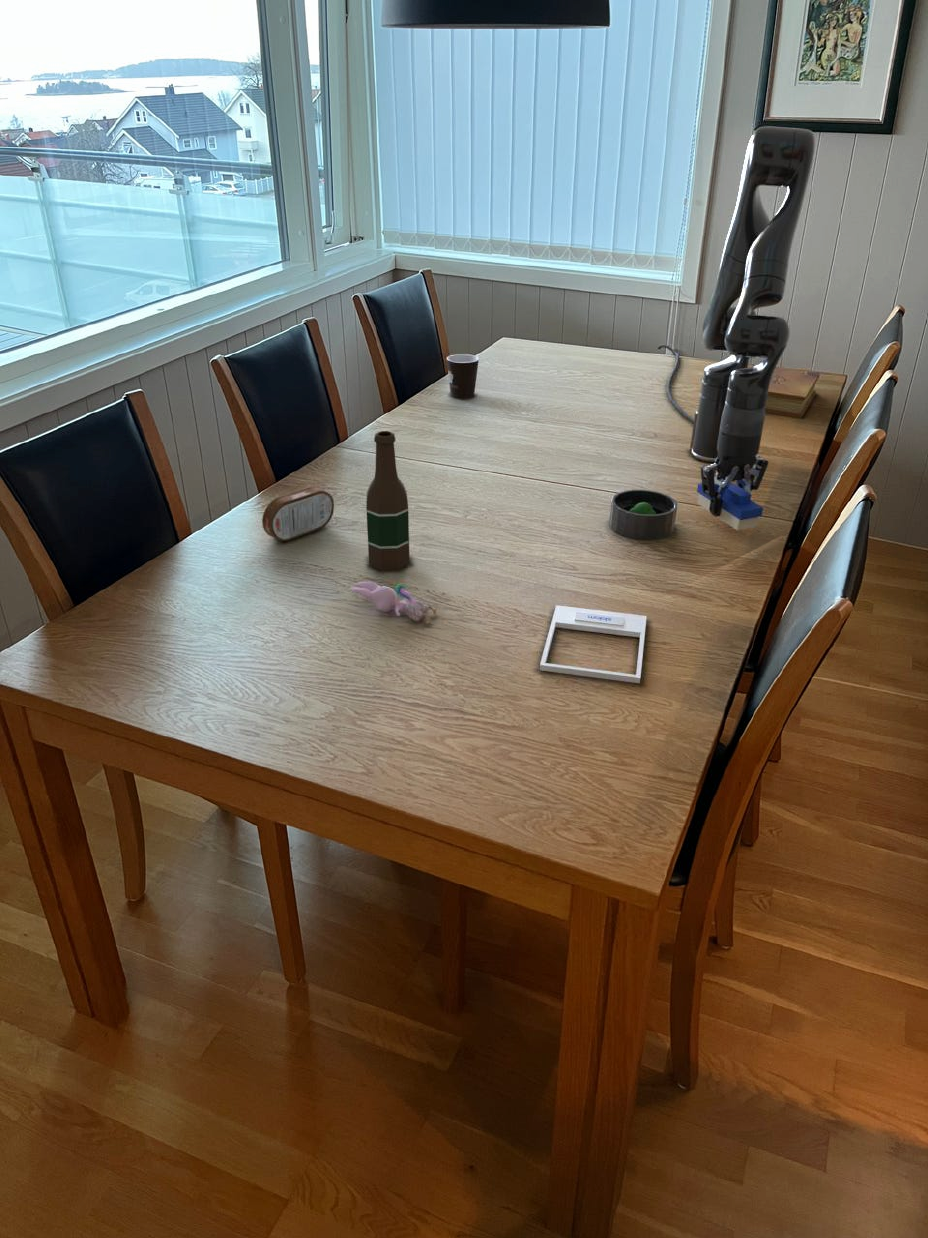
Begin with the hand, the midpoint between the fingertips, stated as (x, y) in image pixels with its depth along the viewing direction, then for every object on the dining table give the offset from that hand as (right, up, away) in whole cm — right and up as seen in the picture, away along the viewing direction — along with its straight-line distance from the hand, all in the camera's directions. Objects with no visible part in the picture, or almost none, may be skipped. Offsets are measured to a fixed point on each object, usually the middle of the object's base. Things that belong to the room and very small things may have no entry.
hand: (726, 512), depth 177 cm
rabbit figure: (-62, -19, -27) cm, 71 cm away
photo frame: (-30, -25, -35) cm, 52 cm away
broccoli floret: (-16, -2, +1) cm, 16 cm away
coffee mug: (-51, +41, +75) cm, 99 cm away
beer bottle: (-64, -10, -11) cm, 66 cm away
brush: (0, -1, 0) cm, 1 cm away
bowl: (-16, -3, +2) cm, 17 cm away
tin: (-82, -4, -2) cm, 82 cm away
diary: (+33, +39, +72) cm, 88 cm away
